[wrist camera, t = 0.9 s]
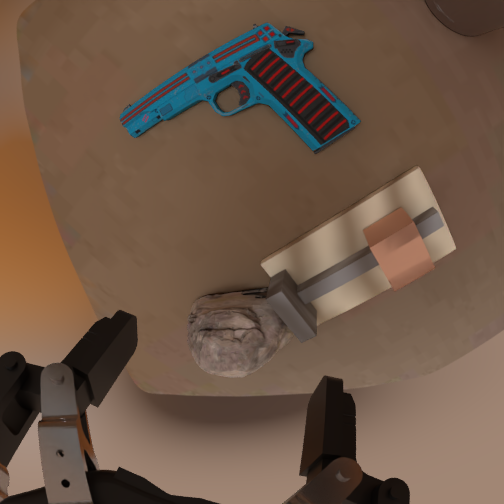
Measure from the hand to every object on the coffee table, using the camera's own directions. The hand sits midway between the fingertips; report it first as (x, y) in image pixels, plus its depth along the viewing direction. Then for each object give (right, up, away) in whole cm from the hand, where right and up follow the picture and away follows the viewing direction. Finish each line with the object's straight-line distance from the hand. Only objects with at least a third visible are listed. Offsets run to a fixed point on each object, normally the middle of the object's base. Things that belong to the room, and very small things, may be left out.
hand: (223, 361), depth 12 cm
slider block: (+17, +6, +20) cm, 26 cm away
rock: (0, -5, +30) cm, 31 cm away
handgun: (-1, +19, +19) cm, 27 cm away
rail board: (+14, +4, +23) cm, 27 cm away
